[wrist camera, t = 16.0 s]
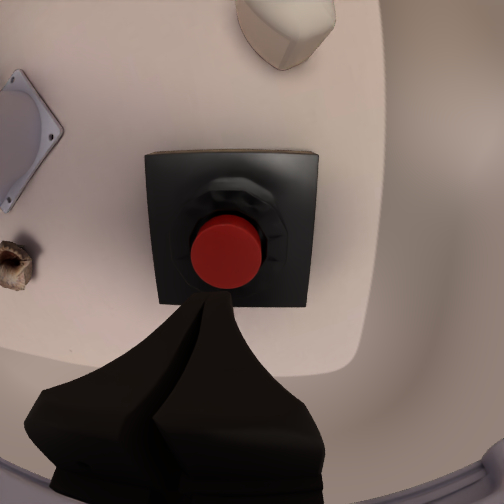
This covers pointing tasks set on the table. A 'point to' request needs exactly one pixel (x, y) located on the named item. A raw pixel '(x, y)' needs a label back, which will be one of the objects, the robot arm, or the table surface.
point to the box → (240, 204)
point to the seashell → (14, 266)
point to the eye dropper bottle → (285, 28)
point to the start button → (226, 252)
